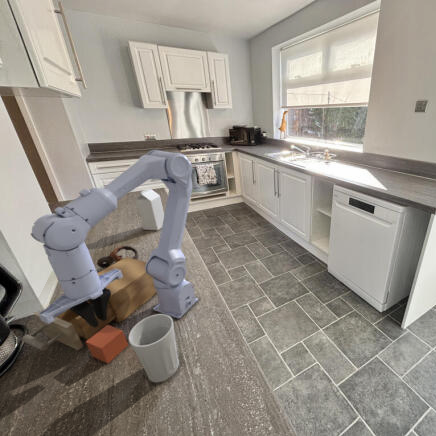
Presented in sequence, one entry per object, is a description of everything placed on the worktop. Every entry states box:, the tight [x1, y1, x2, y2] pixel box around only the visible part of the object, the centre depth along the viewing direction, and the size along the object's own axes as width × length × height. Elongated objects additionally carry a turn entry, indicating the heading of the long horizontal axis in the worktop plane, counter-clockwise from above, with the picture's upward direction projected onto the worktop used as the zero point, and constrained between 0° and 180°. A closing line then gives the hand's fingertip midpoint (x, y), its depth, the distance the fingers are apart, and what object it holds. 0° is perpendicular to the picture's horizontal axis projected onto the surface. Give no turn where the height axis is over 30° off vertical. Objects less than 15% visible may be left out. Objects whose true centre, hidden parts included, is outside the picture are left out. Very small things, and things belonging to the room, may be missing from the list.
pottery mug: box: [96, 245, 139, 269], centre depth 85 cm, size 12×10×8 cm
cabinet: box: [97, 256, 157, 323], centre depth 71 cm, size 15×13×9 cm
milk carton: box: [135, 186, 165, 231], centre depth 112 cm, size 7×7×19 cm
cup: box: [128, 313, 180, 383], centre depth 51 cm, size 8×8×12 cm
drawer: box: [20, 300, 116, 351], centre depth 60 cm, size 18×11×7 cm, turn 161°
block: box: [85, 324, 129, 364], centre depth 56 cm, size 5×5×5 cm
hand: (98, 321), depth 53 cm, fingers closed
